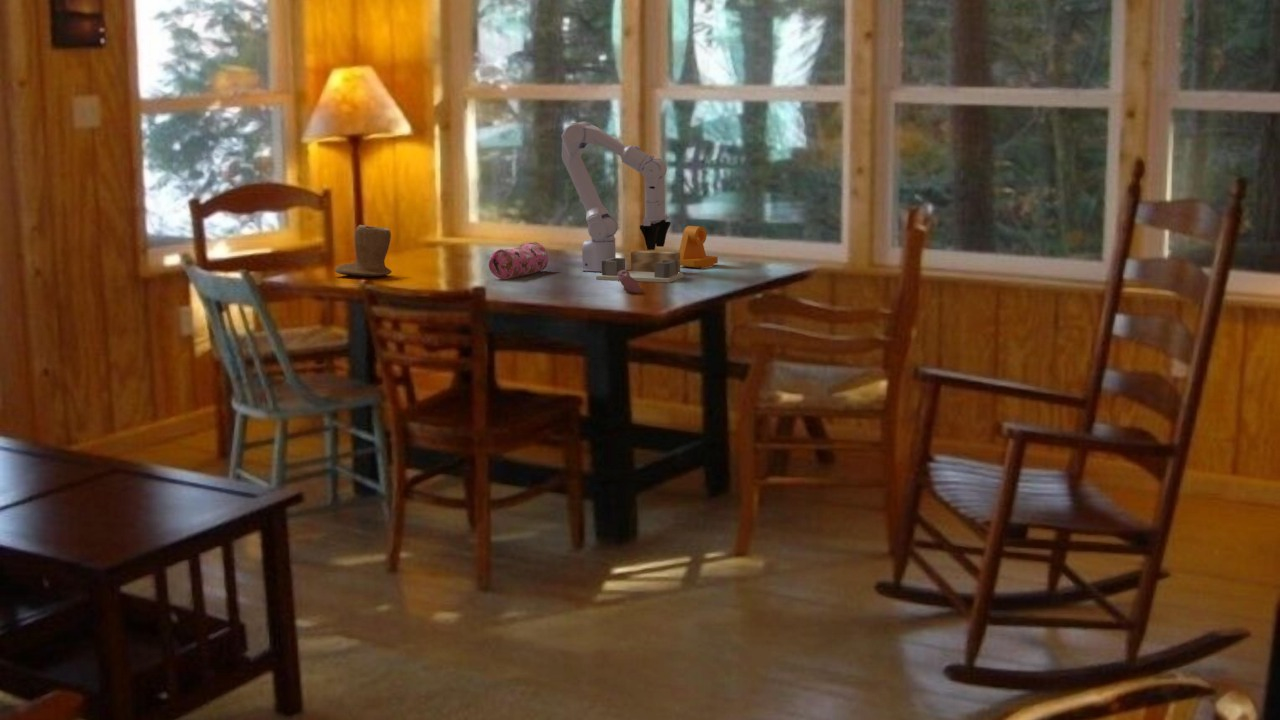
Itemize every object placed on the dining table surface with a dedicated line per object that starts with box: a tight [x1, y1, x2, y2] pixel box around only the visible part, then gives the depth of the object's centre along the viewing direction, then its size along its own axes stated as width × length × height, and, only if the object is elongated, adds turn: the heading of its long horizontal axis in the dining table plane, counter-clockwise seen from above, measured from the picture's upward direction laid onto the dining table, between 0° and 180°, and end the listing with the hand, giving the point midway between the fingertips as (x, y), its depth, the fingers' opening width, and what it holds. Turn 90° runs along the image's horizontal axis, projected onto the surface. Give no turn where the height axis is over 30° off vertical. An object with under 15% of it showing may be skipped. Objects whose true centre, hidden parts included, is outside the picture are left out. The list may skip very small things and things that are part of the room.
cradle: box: [595, 257, 684, 283], centre depth 493 cm, size 22×12×5 cm, turn 69°
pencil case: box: [488, 241, 549, 280], centre depth 501 cm, size 21×9×9 cm, turn 155°
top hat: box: [334, 224, 392, 278], centre depth 503 cm, size 15×12×15 cm
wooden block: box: [630, 250, 681, 273], centre depth 505 cm, size 14×4×6 cm, turn 69°
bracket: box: [678, 225, 719, 269], centre depth 515 cm, size 11×7×12 cm, turn 138°
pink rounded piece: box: [616, 269, 642, 294], centre depth 469 cm, size 10×5×7 cm, turn 5°
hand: (655, 248), depth 504 cm, fingers open, 7 cm apart
